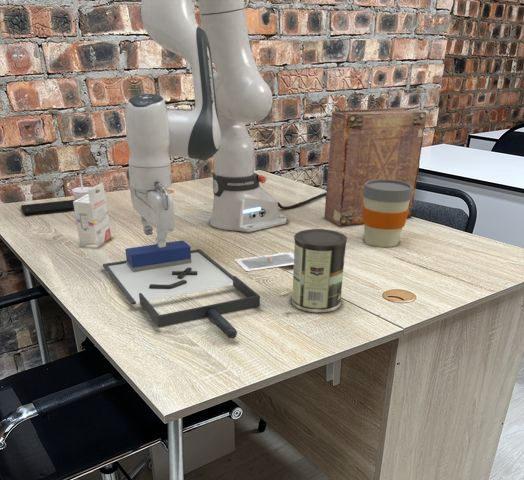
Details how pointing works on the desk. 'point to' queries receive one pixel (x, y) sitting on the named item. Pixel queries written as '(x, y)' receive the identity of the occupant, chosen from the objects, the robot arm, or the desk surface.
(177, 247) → the eraser
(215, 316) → the dustpan
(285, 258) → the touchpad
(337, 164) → the book
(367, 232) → the reusable coffee cup
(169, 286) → the black bent rod
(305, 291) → the coffee can
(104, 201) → the ink cartridge box
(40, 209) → the cell phone
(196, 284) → the whiteboard
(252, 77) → the robot arm
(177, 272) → the x mark
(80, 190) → the smoothie
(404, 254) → the desk surface
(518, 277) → the desk surface
